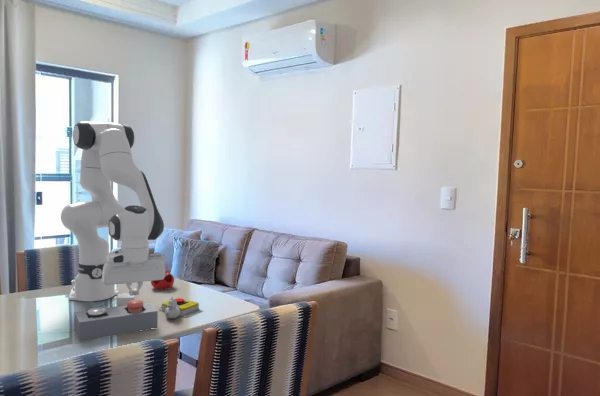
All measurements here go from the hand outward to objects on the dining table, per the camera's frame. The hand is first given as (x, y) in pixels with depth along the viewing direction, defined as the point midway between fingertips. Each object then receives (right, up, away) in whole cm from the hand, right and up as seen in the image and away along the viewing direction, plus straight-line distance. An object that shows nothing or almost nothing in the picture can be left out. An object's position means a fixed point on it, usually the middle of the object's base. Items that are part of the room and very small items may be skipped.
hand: (134, 294), depth 160 cm
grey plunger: (-10, -9, -6) cm, 14 cm away
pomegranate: (-5, -7, +48) cm, 49 cm away
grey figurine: (+10, -11, +11) cm, 18 cm away
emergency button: (+11, -10, +19) cm, 24 cm away
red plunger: (0, -7, 0) cm, 7 cm away
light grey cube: (-9, -10, +16) cm, 21 cm away
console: (-5, -11, -3) cm, 12 cm away
